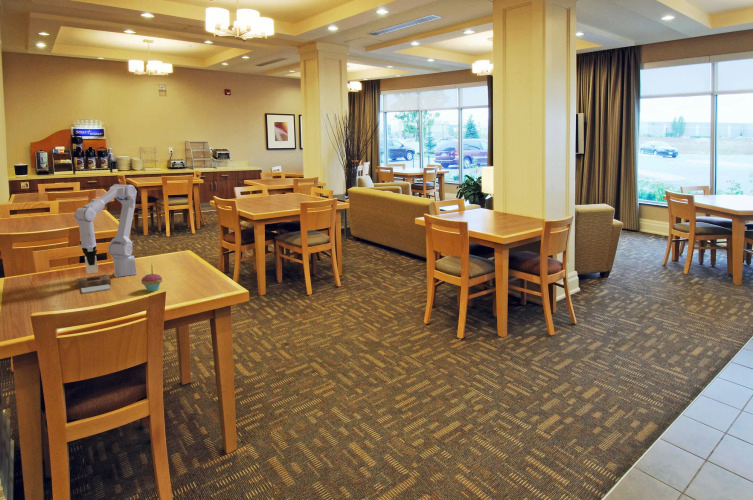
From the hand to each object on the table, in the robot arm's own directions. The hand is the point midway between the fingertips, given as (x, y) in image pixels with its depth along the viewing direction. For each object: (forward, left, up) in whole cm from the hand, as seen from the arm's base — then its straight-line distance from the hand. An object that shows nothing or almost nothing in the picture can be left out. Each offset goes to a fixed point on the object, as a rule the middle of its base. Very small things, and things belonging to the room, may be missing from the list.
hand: (91, 263), depth 233 cm
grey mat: (0, +8, -10) cm, 13 cm away
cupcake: (-22, +22, -10) cm, 33 cm away
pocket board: (0, -1, -10) cm, 10 cm away
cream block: (0, 0, -4) cm, 4 cm away
